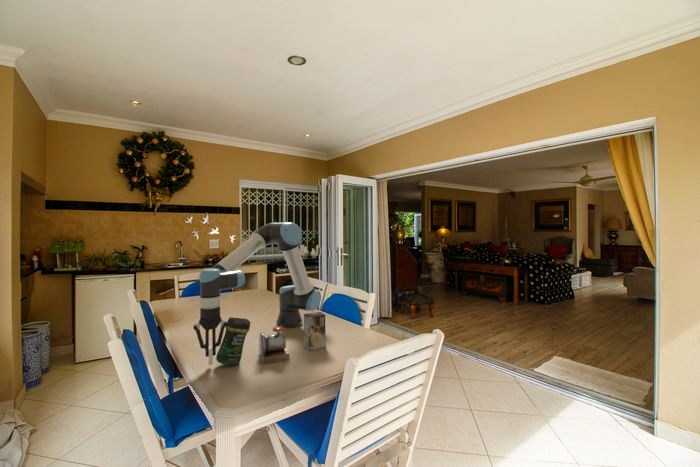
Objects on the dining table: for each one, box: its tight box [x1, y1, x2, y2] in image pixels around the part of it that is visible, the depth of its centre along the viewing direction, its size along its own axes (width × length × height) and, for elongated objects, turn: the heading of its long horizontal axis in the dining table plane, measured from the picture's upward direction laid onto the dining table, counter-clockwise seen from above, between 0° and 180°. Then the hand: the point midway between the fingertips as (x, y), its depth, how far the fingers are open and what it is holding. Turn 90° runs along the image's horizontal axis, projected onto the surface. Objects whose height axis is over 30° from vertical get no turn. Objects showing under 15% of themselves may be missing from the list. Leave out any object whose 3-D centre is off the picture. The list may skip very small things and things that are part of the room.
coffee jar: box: [215, 316, 251, 365], centre depth 135 cm, size 10×8×19 cm
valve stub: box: [258, 325, 290, 365], centre depth 142 cm, size 11×12×13 cm
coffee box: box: [303, 311, 327, 351], centre depth 154 cm, size 9×6×16 cm
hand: (210, 363), depth 131 cm, fingers closed
